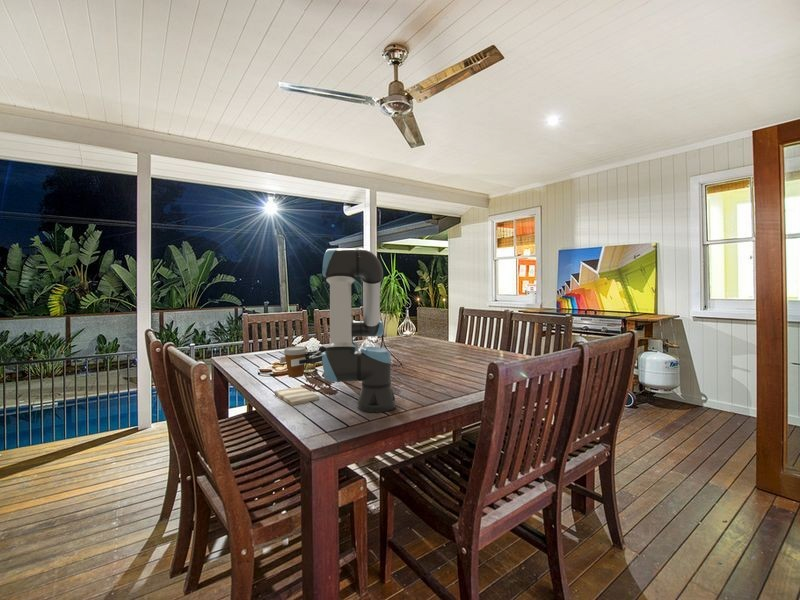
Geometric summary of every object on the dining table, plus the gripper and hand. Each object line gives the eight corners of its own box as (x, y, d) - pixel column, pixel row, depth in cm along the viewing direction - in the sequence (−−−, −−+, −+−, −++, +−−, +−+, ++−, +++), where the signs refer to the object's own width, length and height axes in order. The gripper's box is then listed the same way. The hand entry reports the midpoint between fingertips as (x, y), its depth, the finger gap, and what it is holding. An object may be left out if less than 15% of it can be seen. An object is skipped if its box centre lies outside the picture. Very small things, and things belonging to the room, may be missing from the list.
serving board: (319, 399, 160) (318, 395, 160) (291, 405, 153) (291, 401, 153) (300, 389, 175) (300, 386, 175) (274, 394, 168) (274, 391, 168)
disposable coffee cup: (299, 379, 158) (298, 351, 157) (279, 377, 161) (278, 349, 160) (311, 373, 167) (310, 346, 166) (293, 372, 170) (292, 345, 169)
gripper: (344, 364, 170) (300, 374, 153) (315, 357, 184) (272, 366, 167) (343, 347, 169) (299, 356, 153) (315, 342, 183) (272, 349, 167)
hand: (285, 361), depth 160 cm, fingers closed on disposable coffee cup, 8 cm apart
